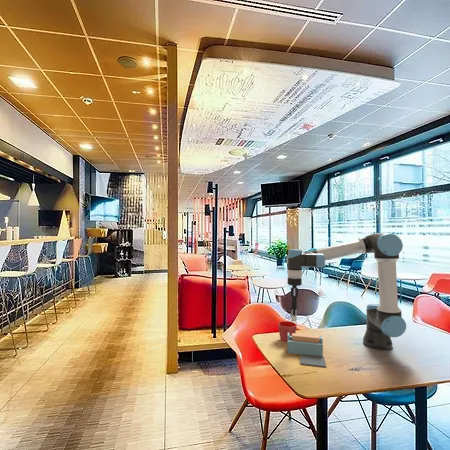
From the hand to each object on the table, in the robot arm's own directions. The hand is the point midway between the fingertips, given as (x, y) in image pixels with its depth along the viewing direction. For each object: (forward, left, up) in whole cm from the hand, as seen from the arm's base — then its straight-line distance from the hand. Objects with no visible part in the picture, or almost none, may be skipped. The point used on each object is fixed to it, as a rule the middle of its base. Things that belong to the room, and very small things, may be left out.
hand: (293, 320), depth 161 cm
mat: (-9, +11, -16) cm, 22 cm away
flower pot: (+4, -15, -16) cm, 22 cm away
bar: (-6, 0, -11) cm, 13 cm away
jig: (-6, 0, -16) cm, 17 cm away
